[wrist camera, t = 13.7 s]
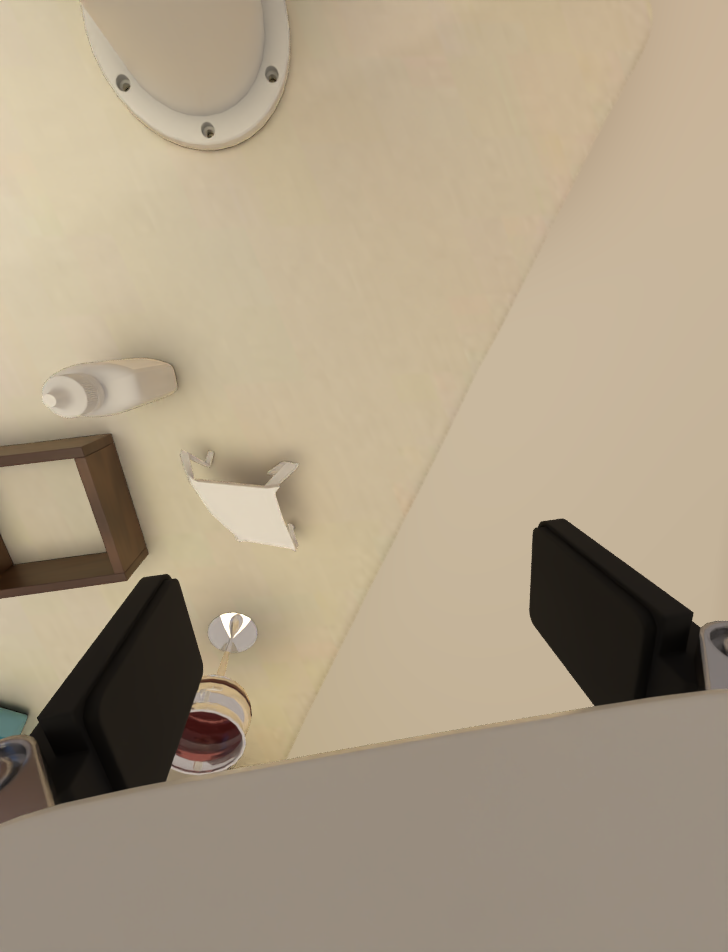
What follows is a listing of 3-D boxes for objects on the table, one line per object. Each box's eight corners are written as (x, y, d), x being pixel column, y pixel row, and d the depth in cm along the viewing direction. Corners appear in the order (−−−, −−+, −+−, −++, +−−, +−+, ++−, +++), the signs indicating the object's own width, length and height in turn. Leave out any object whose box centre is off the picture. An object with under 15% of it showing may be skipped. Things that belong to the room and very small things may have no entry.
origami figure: (330, 467, 37) (331, 486, 32) (295, 543, 39) (292, 571, 34) (199, 415, 34) (181, 426, 29) (170, 499, 36) (148, 523, 31)
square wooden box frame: (-48, 451, 33) (-102, 468, 29) (111, 433, 34) (81, 446, 30) (7, 573, 37) (-33, 603, 32) (149, 554, 38) (127, 581, 33)
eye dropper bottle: (113, 338, 32) (-2, 337, 20) (185, 369, 33) (114, 384, 21) (99, 390, 33) (-18, 416, 21) (169, 418, 34) (94, 456, 23)
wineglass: (184, 624, 40) (132, 734, 29) (243, 594, 40) (213, 694, 29) (222, 669, 43) (187, 788, 31) (278, 641, 42) (263, 751, 31)
